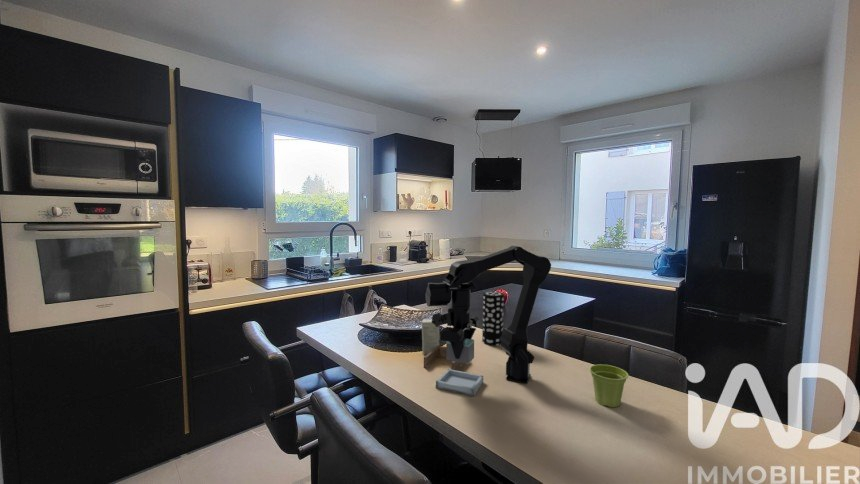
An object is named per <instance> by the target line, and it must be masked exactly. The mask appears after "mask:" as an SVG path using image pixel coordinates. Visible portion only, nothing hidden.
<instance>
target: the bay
mask: <svg viewBox="0 0 860 484" xmlns="http://www.w3.org/2000/svg"><path fill="white" fill-rule="evenodd" d="M439 357H442V358H446V346H442V345H439V346H437V347H436V348H435V349H433V350H432V351H431V352H430V353H428V354H425V356H423V368H428V367H430V365H432V364H433V363H434V362H435V361H436V360H437V359H439ZM450 362H451V363H450V365H451V366H450V369H452V370H457V371H459V369H460V367H462V365H463V364H464V363H461V362H456V361H450Z"/></svg>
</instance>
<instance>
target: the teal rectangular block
mask: <svg viewBox="0 0 860 484" xmlns="http://www.w3.org/2000/svg"><path fill="white" fill-rule="evenodd" d="M445 342H446V343H445V344H446V345H445V347H446V357H445V358H446V361H450V362H452V361H456V362H461V363H463V364H467V365H469V364H470V363H471V362H472V361H473V360H474V358H475V339H474V338H472V339H467V338H466V341H465V344H464V347H463V350H462V353H461V355H460V358H459V359H456V358H455V355H454V352H453V349H452V346H451V343H450V342H449V341H445Z"/></svg>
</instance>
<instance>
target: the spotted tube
mask: <svg viewBox="0 0 860 484" xmlns="http://www.w3.org/2000/svg"><path fill="white" fill-rule="evenodd" d="M504 301H505V294H504V292H499V291H485V292H482V340H481V341H482V344H485V345H487V346H491V347H492V346H495V347H497V346H501V344H500V343H501V340H500V337H501V335H502V330H503V328H504V313H505V312H504V310H505V309H504V307H505V305H504V303H505V302H504Z"/></svg>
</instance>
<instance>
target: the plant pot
mask: <svg viewBox="0 0 860 484" xmlns="http://www.w3.org/2000/svg"><path fill="white" fill-rule="evenodd" d="M589 372H590V373H591V376H592V383H593V388H594V389H593V390H594V397H595V398H594V399H595V401H596V402H597V403H598V404H600V405H601V406H607V407H609V408H618V407H619V406H620V405H621V403H622V398H623V392H624V388H625V387H624V385H625V383H626V381H627V380H628V378H629V373H628V372H627V371H626V370H625V369H622V368H620V367H617V366H614V365H610V364H600V363H599V364H593V365H591V366H590V367H589Z"/></svg>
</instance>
